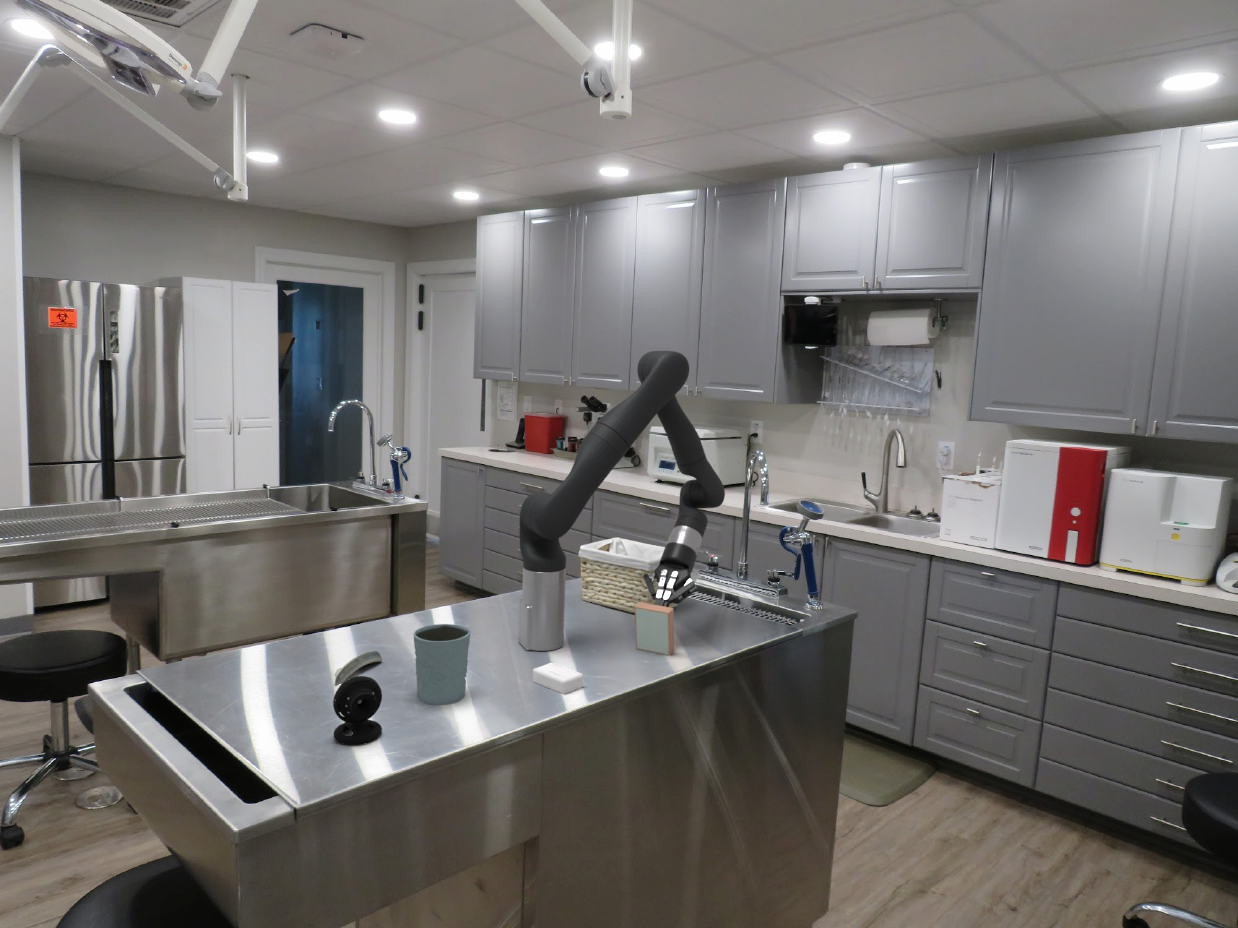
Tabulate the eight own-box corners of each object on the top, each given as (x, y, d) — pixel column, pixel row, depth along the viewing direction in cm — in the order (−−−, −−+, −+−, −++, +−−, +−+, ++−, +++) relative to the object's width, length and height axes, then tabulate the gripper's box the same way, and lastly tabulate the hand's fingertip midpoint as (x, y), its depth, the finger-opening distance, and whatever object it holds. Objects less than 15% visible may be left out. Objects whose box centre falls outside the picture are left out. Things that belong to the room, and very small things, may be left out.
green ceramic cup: (414, 708, 146) (414, 642, 145) (411, 686, 156) (412, 624, 154) (472, 703, 149) (473, 639, 148) (466, 682, 159) (467, 621, 157)
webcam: (341, 750, 130) (340, 689, 129) (326, 732, 136) (326, 673, 135) (389, 738, 135) (389, 679, 133) (373, 721, 141) (373, 665, 139)
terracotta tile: (640, 643, 183) (639, 602, 180) (674, 650, 179) (673, 608, 176) (635, 648, 180) (634, 606, 178) (669, 655, 177) (668, 613, 174)
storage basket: (574, 600, 215) (576, 544, 213) (613, 588, 228) (615, 535, 226) (648, 621, 200) (651, 561, 198) (686, 606, 213) (688, 550, 211)
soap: (584, 688, 159) (584, 673, 158) (564, 696, 155) (564, 680, 154) (551, 675, 165) (551, 660, 164) (531, 682, 160) (531, 667, 160)
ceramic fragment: (337, 688, 155) (337, 668, 154) (315, 683, 157) (315, 663, 156) (385, 664, 168) (385, 646, 167) (364, 660, 170) (364, 642, 169)
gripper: (650, 537, 189) (624, 602, 180) (705, 545, 183) (681, 613, 174) (659, 555, 194) (634, 619, 185) (712, 563, 189) (689, 630, 179)
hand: (657, 616), depth 179 cm, fingers closed
